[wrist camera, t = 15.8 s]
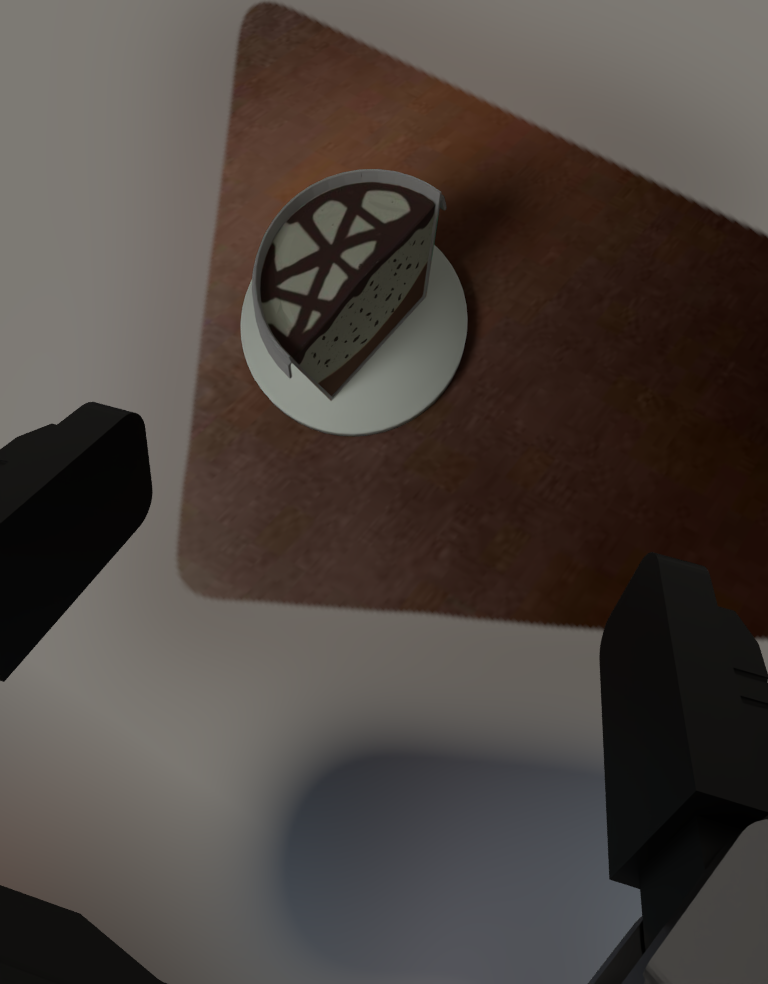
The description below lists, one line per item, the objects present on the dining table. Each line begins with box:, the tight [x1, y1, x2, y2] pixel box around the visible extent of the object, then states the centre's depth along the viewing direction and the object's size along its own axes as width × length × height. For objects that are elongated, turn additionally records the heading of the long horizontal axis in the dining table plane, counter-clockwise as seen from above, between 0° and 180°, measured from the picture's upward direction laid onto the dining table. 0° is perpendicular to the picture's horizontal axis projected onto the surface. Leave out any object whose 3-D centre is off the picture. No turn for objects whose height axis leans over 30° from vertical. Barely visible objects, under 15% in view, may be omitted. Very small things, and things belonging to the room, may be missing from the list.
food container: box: [252, 169, 446, 401], centre depth 36 cm, size 12×6×10 cm, turn 138°
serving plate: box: [241, 245, 468, 437], centre depth 41 cm, size 15×15×1 cm
